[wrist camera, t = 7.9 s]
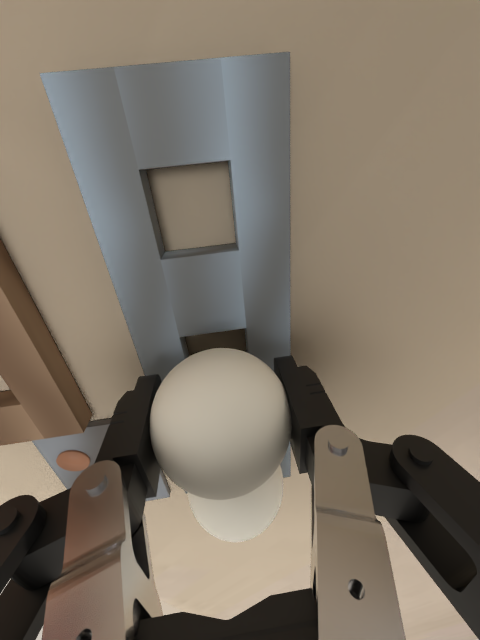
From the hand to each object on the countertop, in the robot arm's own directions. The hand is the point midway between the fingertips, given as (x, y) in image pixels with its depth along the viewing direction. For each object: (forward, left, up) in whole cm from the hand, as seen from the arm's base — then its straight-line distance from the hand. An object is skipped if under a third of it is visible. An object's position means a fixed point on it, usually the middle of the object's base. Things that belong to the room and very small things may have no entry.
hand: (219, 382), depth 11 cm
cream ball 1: (0, 0, -1) cm, 1 cm away
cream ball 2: (0, +7, -2) cm, 7 cm away
